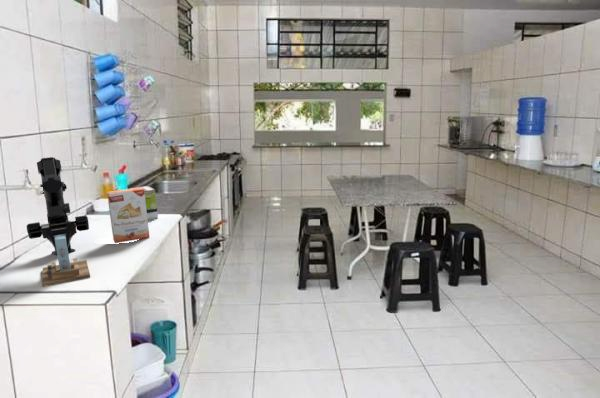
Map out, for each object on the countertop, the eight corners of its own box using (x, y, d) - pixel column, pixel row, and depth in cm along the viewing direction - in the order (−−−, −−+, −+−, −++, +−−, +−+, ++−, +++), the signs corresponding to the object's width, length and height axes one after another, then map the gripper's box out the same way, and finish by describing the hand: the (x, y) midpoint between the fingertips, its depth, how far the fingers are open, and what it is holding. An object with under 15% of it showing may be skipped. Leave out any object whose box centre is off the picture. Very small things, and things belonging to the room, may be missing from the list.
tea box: (159, 218, 235) (155, 188, 232) (138, 222, 230) (134, 191, 227) (151, 213, 248) (148, 185, 245) (131, 216, 243) (127, 187, 240)
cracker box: (115, 244, 195) (107, 193, 190) (113, 240, 200) (106, 191, 196) (150, 237, 201) (144, 188, 197) (147, 234, 206) (141, 186, 202)
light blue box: (59, 266, 164) (54, 235, 162) (70, 264, 165) (65, 233, 163) (60, 273, 157) (54, 241, 154) (71, 271, 158) (65, 239, 156)
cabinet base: (43, 270, 167) (41, 262, 166) (86, 262, 173) (85, 254, 172) (42, 286, 151) (40, 277, 150) (90, 277, 157) (88, 268, 156)
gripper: (22, 200, 157) (26, 240, 150) (83, 192, 165) (90, 230, 158) (27, 218, 166) (31, 257, 159) (85, 210, 174) (92, 247, 167)
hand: (61, 247), depth 160 cm, fingers closed on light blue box, 3 cm apart
